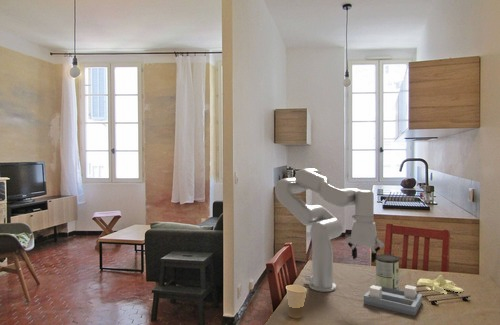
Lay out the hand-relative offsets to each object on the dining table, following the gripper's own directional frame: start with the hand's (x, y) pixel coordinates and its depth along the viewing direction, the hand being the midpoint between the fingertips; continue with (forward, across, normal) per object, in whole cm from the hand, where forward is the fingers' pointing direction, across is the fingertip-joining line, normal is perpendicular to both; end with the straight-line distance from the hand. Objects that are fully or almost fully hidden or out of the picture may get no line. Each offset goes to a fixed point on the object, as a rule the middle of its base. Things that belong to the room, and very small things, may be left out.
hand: (364, 259), depth 155 cm
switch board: (+18, +11, +4) cm, 21 cm away
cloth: (+19, +25, +35) cm, 47 cm away
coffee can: (+18, +4, +22) cm, 29 cm away
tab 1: (+16, +5, 0) cm, 17 cm away
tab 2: (+16, +17, +8) cm, 25 cm away
